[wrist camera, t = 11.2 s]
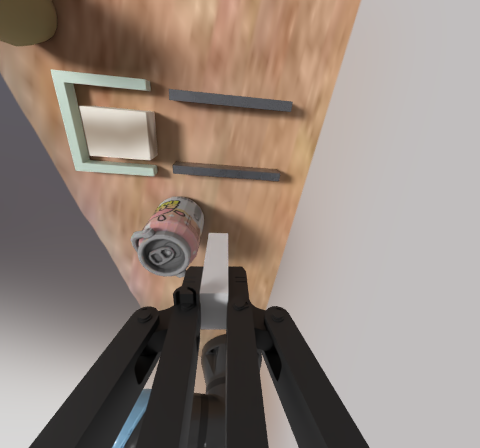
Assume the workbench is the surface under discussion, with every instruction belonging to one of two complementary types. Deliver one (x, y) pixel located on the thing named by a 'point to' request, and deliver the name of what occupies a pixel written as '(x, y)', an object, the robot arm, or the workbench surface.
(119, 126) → the block
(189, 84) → the workbench surface
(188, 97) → the chute
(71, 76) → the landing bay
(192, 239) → the beverage can
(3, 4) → the squeeze bottle
